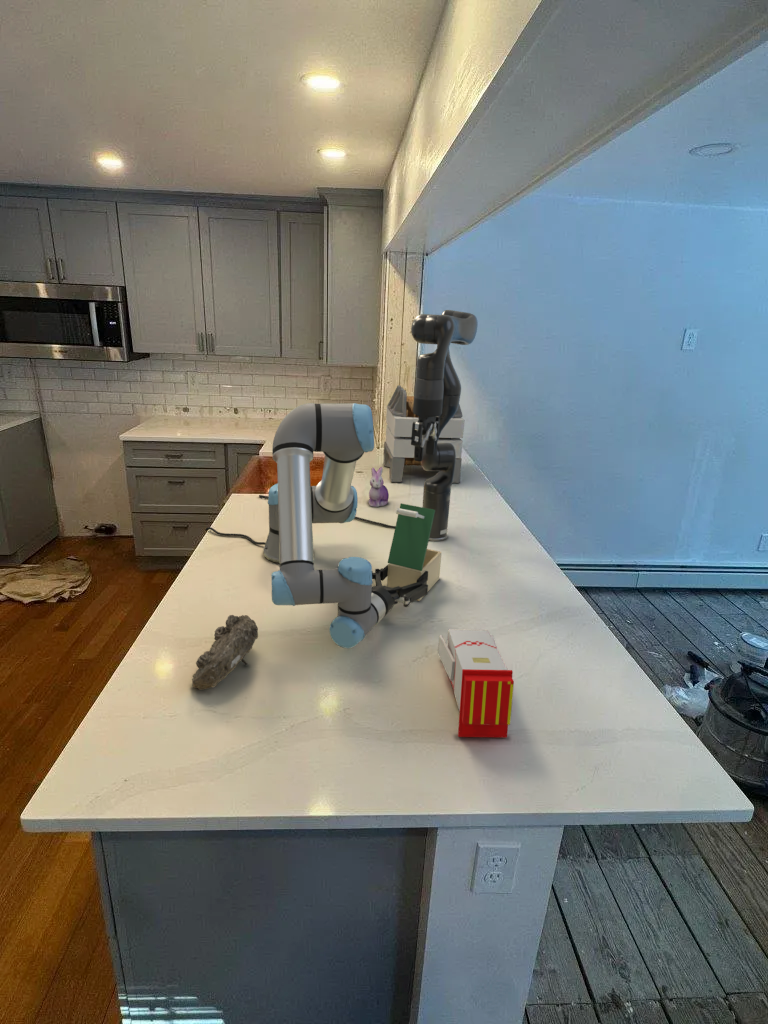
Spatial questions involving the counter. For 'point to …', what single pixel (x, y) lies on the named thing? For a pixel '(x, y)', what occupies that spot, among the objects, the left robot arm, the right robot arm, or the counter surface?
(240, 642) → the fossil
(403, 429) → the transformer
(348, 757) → the counter surface
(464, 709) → the toy
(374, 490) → the figurine
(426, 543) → the lid
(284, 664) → the counter surface
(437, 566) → the chest
